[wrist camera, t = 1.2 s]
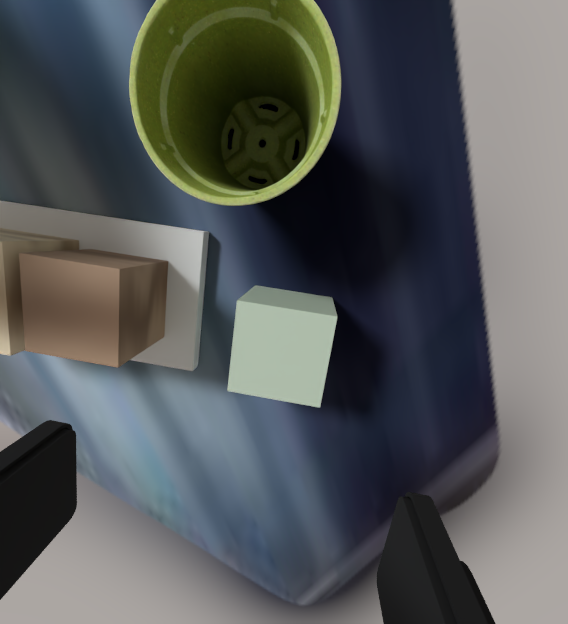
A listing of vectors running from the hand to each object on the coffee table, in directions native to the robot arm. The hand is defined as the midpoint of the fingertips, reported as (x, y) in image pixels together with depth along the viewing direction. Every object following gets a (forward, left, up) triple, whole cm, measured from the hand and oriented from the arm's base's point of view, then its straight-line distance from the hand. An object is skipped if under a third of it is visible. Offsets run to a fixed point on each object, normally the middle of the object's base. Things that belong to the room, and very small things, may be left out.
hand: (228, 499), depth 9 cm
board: (-1, -15, -17) cm, 23 cm away
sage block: (0, 0, -17) cm, 17 cm away
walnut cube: (-1, -12, -15) cm, 20 cm away
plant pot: (-13, -3, -17) cm, 22 cm away
